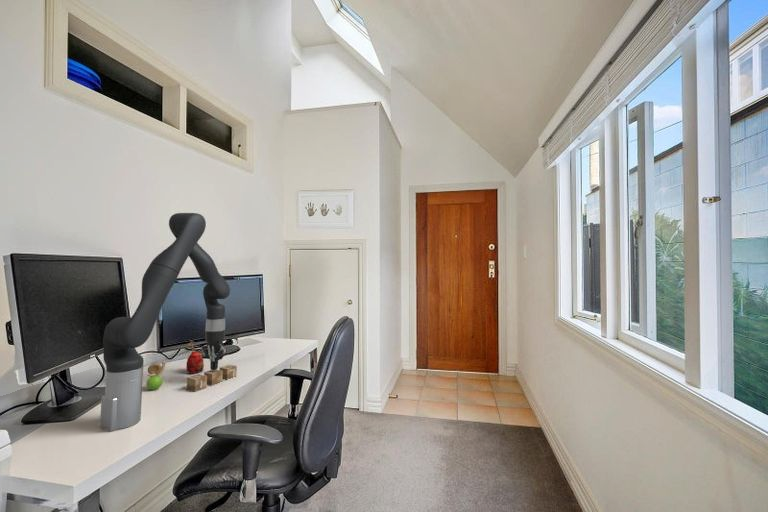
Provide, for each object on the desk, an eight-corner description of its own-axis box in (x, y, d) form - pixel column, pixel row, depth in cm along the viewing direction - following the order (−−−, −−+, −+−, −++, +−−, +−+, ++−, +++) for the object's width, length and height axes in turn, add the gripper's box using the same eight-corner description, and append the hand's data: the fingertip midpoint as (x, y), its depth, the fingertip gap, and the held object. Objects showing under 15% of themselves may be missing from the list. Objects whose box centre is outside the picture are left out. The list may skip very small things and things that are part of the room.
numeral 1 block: (195, 392, 128) (195, 379, 128) (186, 390, 130) (187, 377, 130) (206, 388, 133) (207, 375, 133) (198, 386, 135) (198, 373, 135)
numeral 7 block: (227, 380, 142) (227, 368, 142) (219, 378, 144) (219, 367, 144) (236, 377, 146) (237, 365, 147) (228, 375, 149) (229, 364, 149)
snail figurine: (166, 388, 131) (168, 358, 131) (147, 393, 126) (149, 362, 127) (163, 385, 135) (164, 356, 135) (144, 389, 130) (146, 359, 130)
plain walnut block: (211, 386, 135) (212, 374, 135) (203, 384, 137) (204, 372, 137) (222, 382, 140) (222, 370, 140) (214, 380, 142) (214, 369, 142)
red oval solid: (196, 374, 148) (198, 341, 149) (181, 374, 148) (183, 341, 149) (206, 369, 156) (208, 338, 156) (192, 369, 156) (193, 337, 156)
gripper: (196, 328, 138) (195, 369, 138) (218, 332, 133) (217, 374, 133) (212, 326, 145) (211, 364, 145) (233, 329, 140) (232, 369, 140)
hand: (214, 369), depth 139 cm, fingers closed
